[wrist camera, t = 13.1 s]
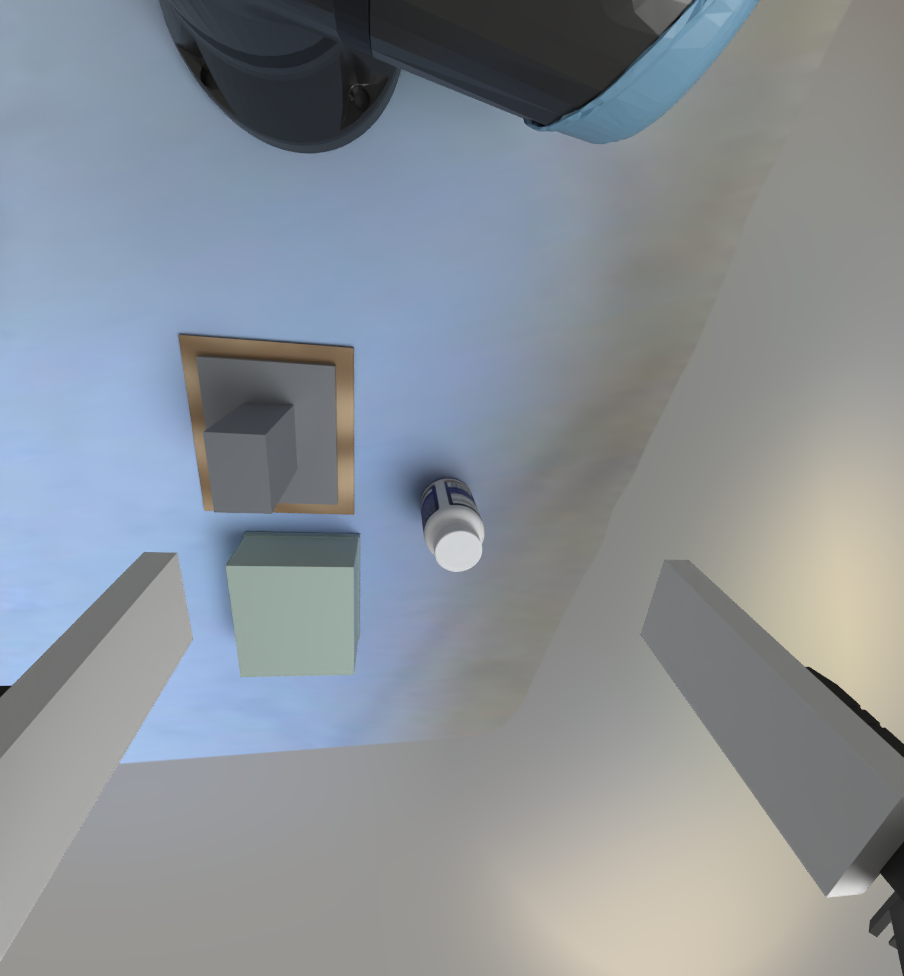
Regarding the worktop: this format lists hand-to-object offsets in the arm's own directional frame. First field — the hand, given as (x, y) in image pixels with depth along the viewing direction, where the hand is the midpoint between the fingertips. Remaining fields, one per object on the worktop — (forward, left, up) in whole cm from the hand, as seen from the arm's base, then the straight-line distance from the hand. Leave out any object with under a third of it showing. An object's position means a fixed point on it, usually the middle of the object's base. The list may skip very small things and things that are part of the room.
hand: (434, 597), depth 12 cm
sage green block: (+22, -10, -31) cm, 39 cm away
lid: (+5, -12, -30) cm, 33 cm away
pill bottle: (+11, +4, -31) cm, 33 cm away
